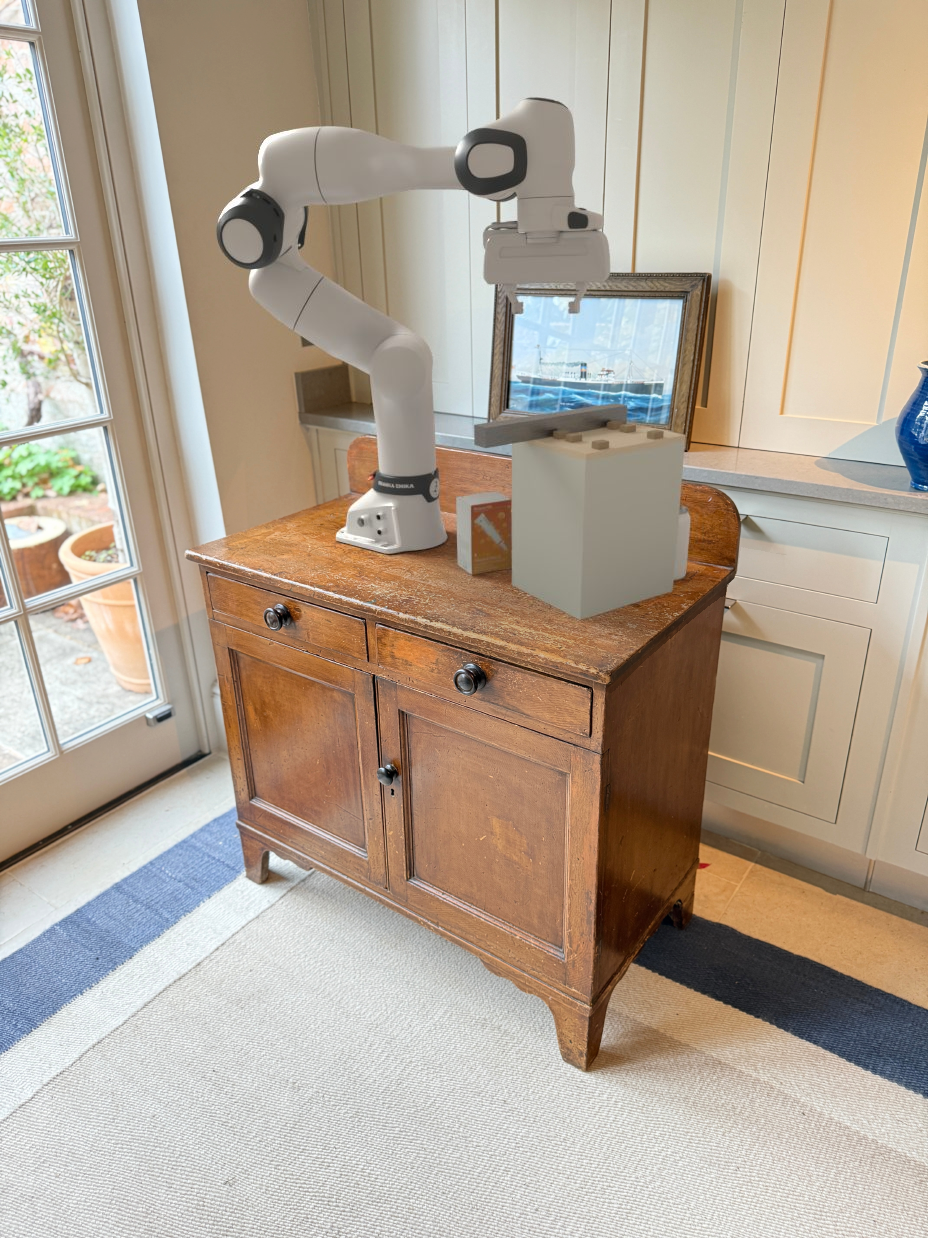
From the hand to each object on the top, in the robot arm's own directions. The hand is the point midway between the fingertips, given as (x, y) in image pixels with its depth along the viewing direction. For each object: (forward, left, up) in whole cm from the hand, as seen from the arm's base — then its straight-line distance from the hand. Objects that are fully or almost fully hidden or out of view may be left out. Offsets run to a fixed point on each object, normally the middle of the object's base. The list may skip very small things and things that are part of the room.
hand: (545, 313), depth 137 cm
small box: (-9, -6, -43) cm, 45 cm away
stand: (+12, -8, -43) cm, 45 cm away
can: (+22, +3, -43) cm, 49 cm away
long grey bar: (+6, -10, -17) cm, 21 cm away
